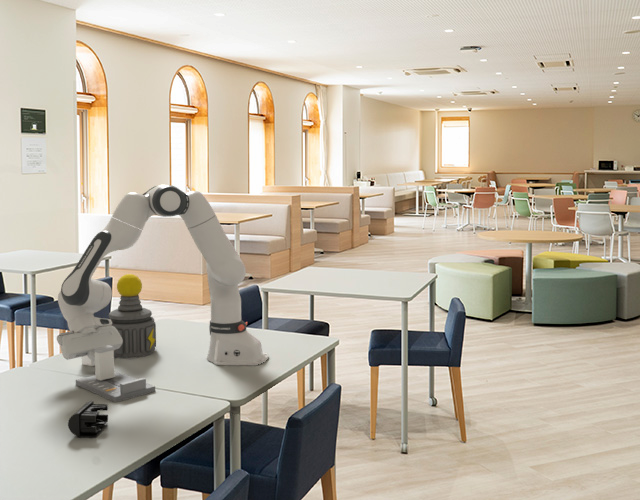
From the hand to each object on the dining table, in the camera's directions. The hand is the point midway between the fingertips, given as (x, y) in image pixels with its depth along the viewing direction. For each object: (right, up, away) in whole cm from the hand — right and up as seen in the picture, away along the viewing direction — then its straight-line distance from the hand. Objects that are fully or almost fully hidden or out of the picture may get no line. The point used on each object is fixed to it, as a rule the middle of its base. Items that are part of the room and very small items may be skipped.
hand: (100, 363), depth 220 cm
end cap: (+10, -12, -40) cm, 43 cm away
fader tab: (+2, -4, -1) cm, 5 cm away
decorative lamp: (0, -2, +37) cm, 37 cm away
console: (+6, -7, -5) cm, 11 cm away
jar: (-9, -4, +23) cm, 25 cm away
